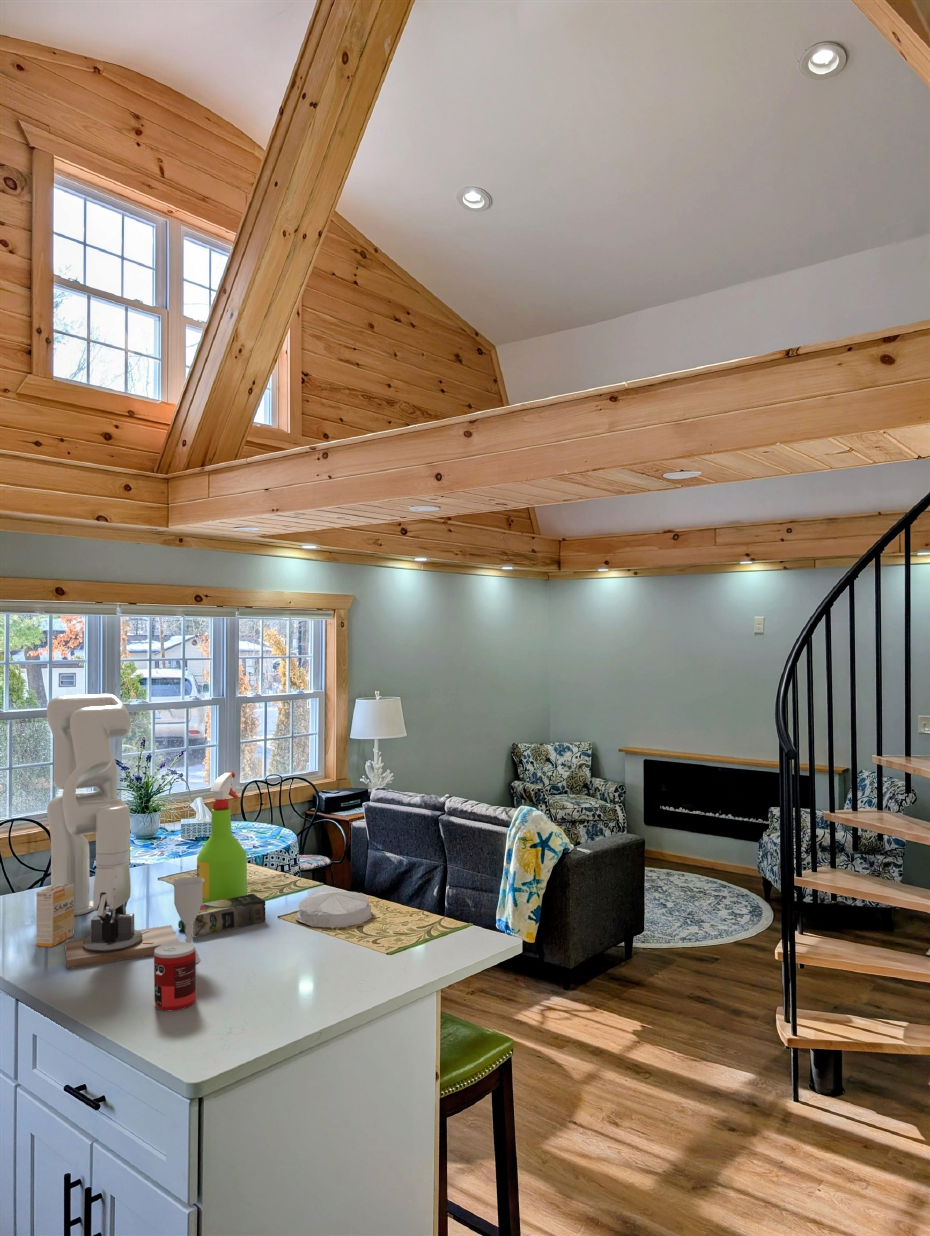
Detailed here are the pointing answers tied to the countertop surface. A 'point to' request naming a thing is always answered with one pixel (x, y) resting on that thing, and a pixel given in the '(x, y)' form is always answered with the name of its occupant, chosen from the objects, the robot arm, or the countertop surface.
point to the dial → (124, 935)
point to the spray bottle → (222, 850)
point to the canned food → (174, 975)
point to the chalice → (188, 902)
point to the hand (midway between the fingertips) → (113, 935)
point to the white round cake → (334, 909)
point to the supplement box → (54, 914)
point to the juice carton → (227, 915)
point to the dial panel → (146, 947)
